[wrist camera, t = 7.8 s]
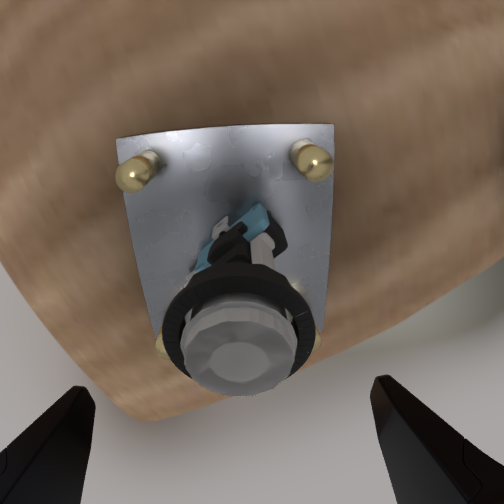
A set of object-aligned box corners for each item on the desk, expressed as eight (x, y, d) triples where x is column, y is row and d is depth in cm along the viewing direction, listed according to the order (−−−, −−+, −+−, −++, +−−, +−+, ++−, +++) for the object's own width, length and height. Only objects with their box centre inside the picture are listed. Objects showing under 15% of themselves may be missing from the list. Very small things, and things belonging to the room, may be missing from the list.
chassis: (329, 123, 17) (352, 129, 13) (319, 322, 23) (332, 360, 20) (121, 137, 17) (93, 147, 13) (158, 330, 23) (147, 368, 19)
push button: (218, 303, 21) (209, 435, 12) (159, 247, 19) (104, 368, 10) (301, 241, 19) (350, 363, 10) (243, 174, 17) (248, 258, 8)
